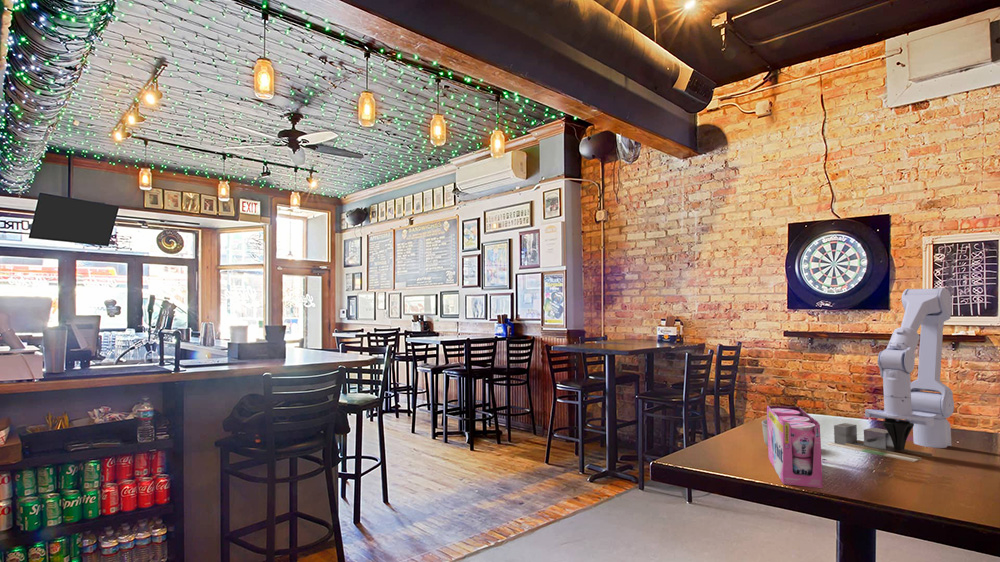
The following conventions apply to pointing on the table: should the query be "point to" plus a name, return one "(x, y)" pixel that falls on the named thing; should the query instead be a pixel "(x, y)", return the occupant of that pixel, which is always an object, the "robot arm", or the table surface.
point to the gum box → (794, 446)
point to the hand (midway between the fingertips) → (899, 449)
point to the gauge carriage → (878, 439)
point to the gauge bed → (848, 437)
